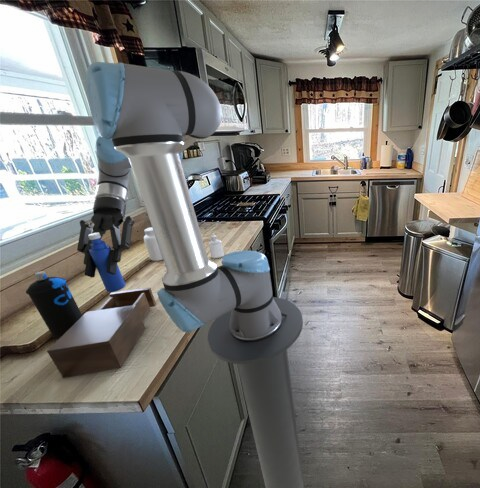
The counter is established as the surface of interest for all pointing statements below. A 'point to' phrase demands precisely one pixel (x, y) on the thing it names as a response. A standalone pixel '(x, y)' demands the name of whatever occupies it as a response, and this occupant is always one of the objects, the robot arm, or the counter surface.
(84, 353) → the cabinet
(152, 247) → the pill bottle
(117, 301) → the drawer
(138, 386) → the counter surface
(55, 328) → the aerosol can
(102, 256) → the bottle
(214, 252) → the eye dropper bottle
